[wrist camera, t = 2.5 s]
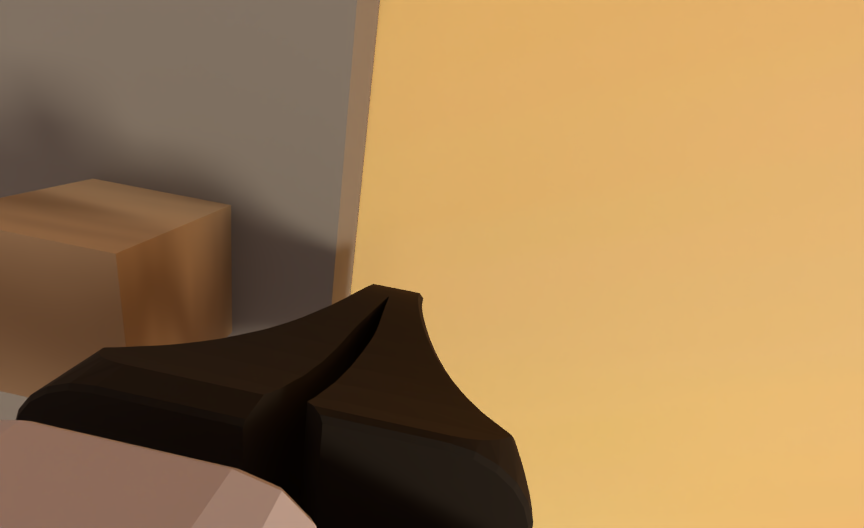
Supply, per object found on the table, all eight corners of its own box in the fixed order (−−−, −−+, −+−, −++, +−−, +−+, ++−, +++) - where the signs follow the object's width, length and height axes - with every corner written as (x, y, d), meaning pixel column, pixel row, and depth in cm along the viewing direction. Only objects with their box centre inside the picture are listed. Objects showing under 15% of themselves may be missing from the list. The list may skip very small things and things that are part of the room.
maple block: (231, 332, 14) (134, 421, 10) (108, 306, 14) (-33, 383, 10) (230, 205, 12) (115, 253, 8) (92, 178, 12) (-80, 214, 9)
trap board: (330, 492, 18) (312, 537, 16) (-158, 380, 19) (-226, 410, 18) (390, -110, 11) (369, -152, 9) (-398, -224, 12) (-558, -282, 10)
